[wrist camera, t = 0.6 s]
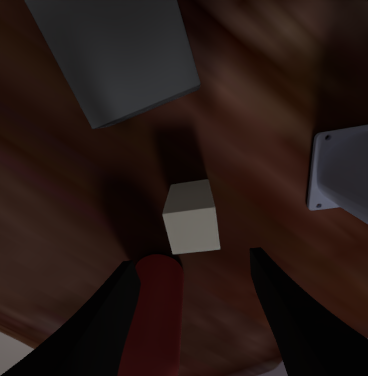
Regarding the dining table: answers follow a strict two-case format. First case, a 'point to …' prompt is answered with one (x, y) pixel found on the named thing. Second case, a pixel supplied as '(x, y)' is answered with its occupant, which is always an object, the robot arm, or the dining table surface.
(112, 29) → the plate
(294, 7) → the dining table surface
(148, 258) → the beer can
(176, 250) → the cream block
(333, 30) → the dining table surface
